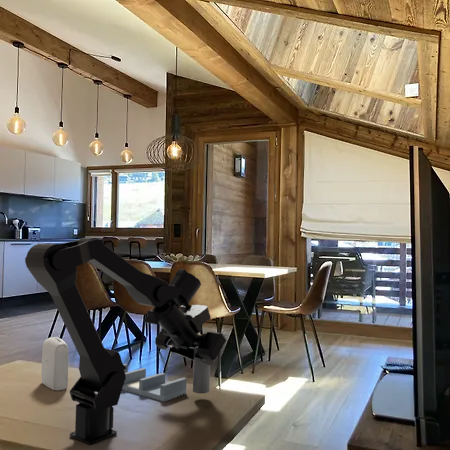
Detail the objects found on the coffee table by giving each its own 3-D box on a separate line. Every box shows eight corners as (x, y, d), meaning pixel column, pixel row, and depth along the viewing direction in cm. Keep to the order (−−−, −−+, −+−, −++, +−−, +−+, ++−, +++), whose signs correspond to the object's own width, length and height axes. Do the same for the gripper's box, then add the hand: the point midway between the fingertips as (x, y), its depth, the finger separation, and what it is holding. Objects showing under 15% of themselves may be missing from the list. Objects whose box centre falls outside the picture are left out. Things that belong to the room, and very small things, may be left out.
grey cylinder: (202, 394, 111) (203, 338, 111) (188, 391, 113) (190, 336, 114) (213, 390, 114) (214, 336, 115) (200, 387, 117) (201, 334, 117)
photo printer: (39, 382, 125) (40, 335, 125) (55, 380, 127) (56, 333, 128) (52, 392, 117) (54, 341, 117) (69, 389, 120) (71, 340, 120)
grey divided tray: (163, 401, 111) (164, 385, 111) (101, 383, 125) (101, 369, 125) (186, 393, 118) (186, 378, 118) (124, 377, 131) (124, 363, 131)
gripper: (221, 297, 106) (250, 340, 114) (165, 291, 118) (195, 330, 126) (196, 337, 99) (229, 380, 107) (139, 326, 112) (172, 365, 119)
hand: (205, 362), depth 115 cm, fingers closed on grey cylinder, 4 cm apart
